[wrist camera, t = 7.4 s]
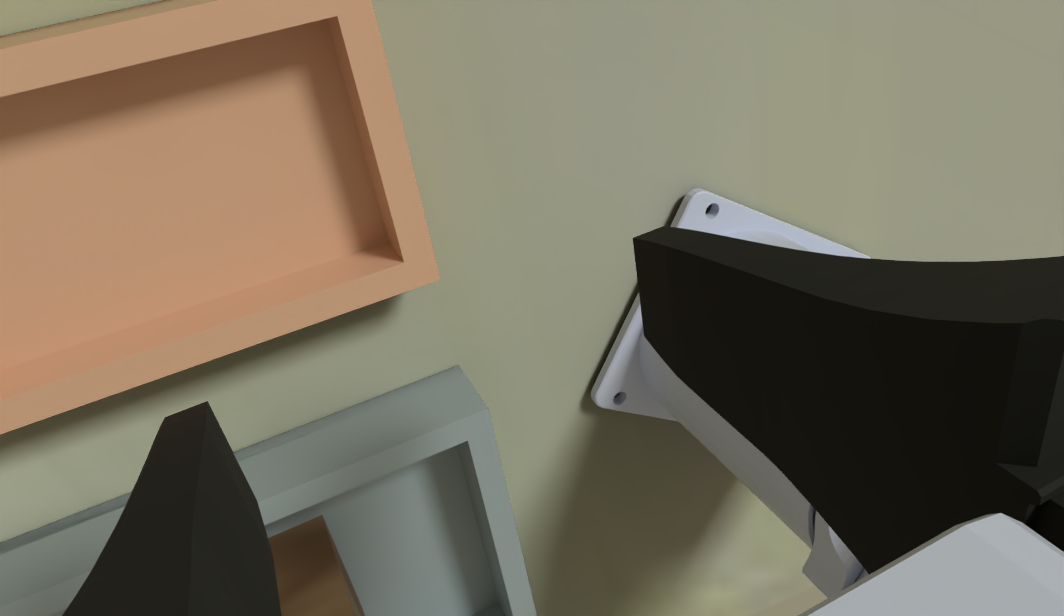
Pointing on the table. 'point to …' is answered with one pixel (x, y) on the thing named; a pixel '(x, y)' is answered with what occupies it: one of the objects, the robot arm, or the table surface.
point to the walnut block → (312, 573)
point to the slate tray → (348, 509)
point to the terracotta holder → (193, 190)
